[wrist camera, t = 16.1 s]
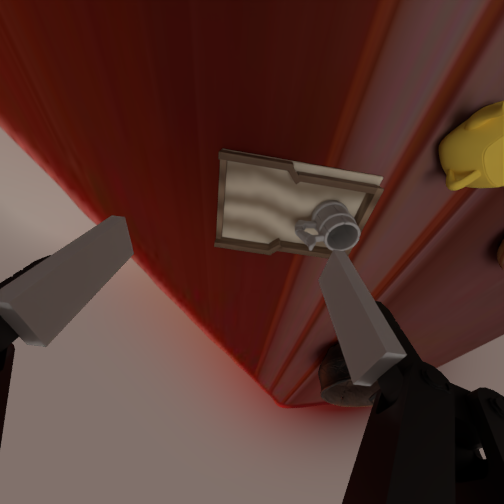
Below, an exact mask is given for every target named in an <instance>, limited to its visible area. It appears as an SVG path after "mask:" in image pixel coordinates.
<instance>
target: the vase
mask: <svg viewBox="0 0 504 504" xmlns="http://www.w3.org/2000/svg"><path fill="white" fill-rule="evenodd" d="M497 260H498V263H499V265H500V267H501V268H502V269H503V270H504V239H503V240H502V241H501V243H500V246H499V249H498V251H497Z"/></svg>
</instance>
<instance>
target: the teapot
mask: <svg viewBox="0 0 504 504" xmlns="http://www.w3.org/2000/svg"><path fill="white" fill-rule="evenodd" d="M439 158H440V162H441V165H442V168H443V170H444V172H445V173H446V175H447V177H446V186H447V188H448V189H450V190H459V189H461V188H463V187H472V188H494V187H501V186H504V101H501V102H497V103H494V104H492V105H488V106H485V107H483V108H481V109H480V110H478V111H477V112H475V113H474V114H473V115H472V116H471V117H470V118H469V119H467V120H466V121H465V122H463V123H462V124H461V125H459V126H458V127H457V128H455V129H454V130H453V131H452V132H450V133H449V134H448V135H447V136H446V137H445V138H444V139H443V140H442V141H441V142H440V145H439Z"/></svg>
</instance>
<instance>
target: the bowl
mask: <svg viewBox="0 0 504 504" xmlns="http://www.w3.org/2000/svg"><path fill="white" fill-rule="evenodd" d="M318 375H319V380H320V384H321V397H322V399H324V400H325V401H326V402H328V403H331V404H334V405H338V406H345V407H349V406H350V407H366V406H373V403H374V400H375V399H374V400H372V401H369V400H368V399H369V398H370V396H371V395H373V394H374V393H375V392H377V391H378V390H379V389H380V386H379V384H378V381H375V382H374V383H373V384H372V385H371V386H363V385H355V384H353V382H352V379H351V376H350V373H349V370H348V367H347V364H346V361H345V358H344V355H343V352H342V349H341V346H340V344H337V345H335V346H332V347H330V349H329V351H328V353H327V355H326V356H325V358H324V359H323V361H322V363H321V365H320V368H319V371H318ZM341 397H342V399H341Z"/></svg>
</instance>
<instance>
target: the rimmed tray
mask: <svg viewBox="0 0 504 504" xmlns="http://www.w3.org/2000/svg"><path fill="white" fill-rule="evenodd" d="M219 159H220V173H219V192H218V212H217V232H216V240H215V245H214V247H220V248H227V249H233V250H240V251H247V252H253V253H260V254H267V255H271V253H274V252H276V251H282V252H288V253H295V254H302V255H308V256H315V257H321V258H328V259H329V257H330V255H331V253H332V250H330V249H328V247H326V245H325V243H324V242H323V241H321V242H316V244H315V246H314V247H313V249H312V250H311V251H310V250H309V248H308V246H307V245H306V244H305V243H304V242H303V241H302V240H301V239H300V238H299V237H298V236H297V235H296V234H295V224H296V222H298V220H304V221H311V219H312V213H313V211H314V210H315V208H316V207H317V206H318V205H319V204H321V203H322V202H324V201H327V200H329V201H330V200H335V201H338V202H341V203H343V204H344V205H345V206H346V207H347V209H348V211H349V213H350V214H351V215H352V216H353V217H354V219H355V221H356V223H357V225H358V227H359V229H360V233H361V231H362V229H363V227H364V225H365V224H366V222H367V220H368V218H369V216H370V214H371V213H372V211H373V209H374V207H375V205H376V203H377V201H378V200H379V198H380V196H381V194H382V192H383V190H384V189H383V188H381V187H380V186H379V185H380V183H381V181H382V179H383V177H382V176H377V175H371V174H366V173H360V172H354V171H348V170H343V169H337V168H331V167H325V166H320V165H314V164H308V163H302V162H297V161H291V160H285V159H279V158H274V157H268V156H262V155H256V154H251V153H245V152H239V151H233V150H228V149H222V150H220V151H219ZM304 231H305V232H308V233H310V234H312V235H318V232H317V231H316V230H315V229H314V228H306V229H305V230H304ZM352 248H353V247H352ZM352 248H350V249H348V250H344V251H345V253H346V254H347V256H348V255H349V253H350V251H351V250H352Z"/></svg>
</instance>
